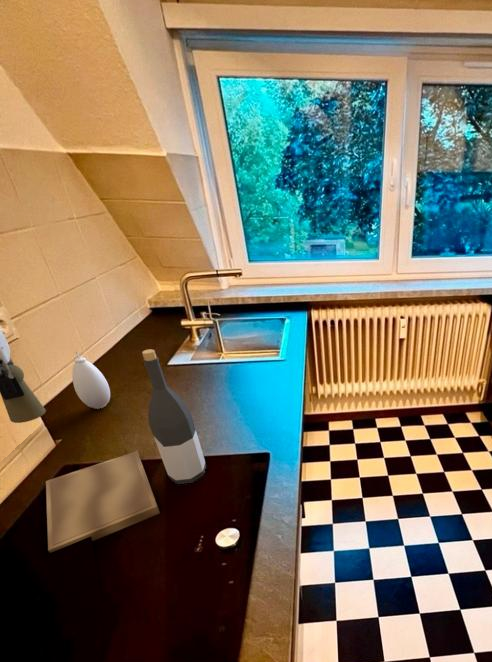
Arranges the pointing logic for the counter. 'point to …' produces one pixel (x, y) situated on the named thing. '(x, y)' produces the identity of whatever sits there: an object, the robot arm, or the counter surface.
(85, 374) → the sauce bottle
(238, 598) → the counter surface
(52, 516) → the cutting board
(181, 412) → the wine bottle
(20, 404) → the pepper mill
